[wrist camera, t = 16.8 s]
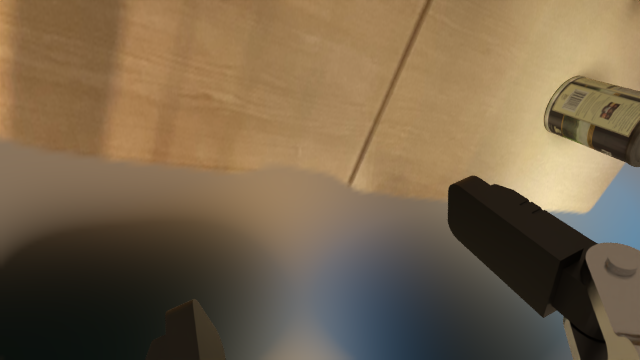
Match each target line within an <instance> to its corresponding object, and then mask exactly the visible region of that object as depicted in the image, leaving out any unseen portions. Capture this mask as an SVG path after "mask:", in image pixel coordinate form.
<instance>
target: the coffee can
mask: <svg viewBox="0 0 640 360" xmlns="http://www.w3.org/2000/svg"><path fill="white" fill-rule="evenodd" d="M544 123H545V127H546V129H547V130H548V131H549V132H551V133H555V134H557V135H560V136H562V137H565V138H567V139H570V140H572V141H575V142H577V143H580V144H582V145H585V146H587V147H589V148H592V149H594V150H597V151H599V152H602V153H604V154H606V155H609V156H611V157H614V158H616V159H619V160H621V161H624V162H626V163H628V164H629V165H631V166H634V167H640V91H636V90H632V89H628V88H624V87H620V86H616V85H612V84H608V83H604V82H600V81H596V80H592V79H588V78H585V77H582V76H577V77H574V78H571V79H569V80H568V81H566V82H565V83H564V84H563V85H562V86H561V87H560V88H559V89H558V90H557V91H556V93H555V94H554V95H553V97H552V99H551V100H550V102H549V105H548V107H547V110H546V113H545V119H544Z"/></svg>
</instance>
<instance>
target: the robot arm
mask: <svg viewBox="0 0 640 360" xmlns="http://www.w3.org/2000/svg"><path fill="white" fill-rule="evenodd" d="M448 224H449V227H450V229H451V231H452V233H453V234H454V236H455V237H456V238H457V239H458V240H459V241H460V242H461V243H462V244H463V245H464V246H465V247H466V248H467V249H469V250H470V251H471V252H472V253H473V254H474V255H475V256H477V258H478V259H479V260H481V261H482V262H483V263H484V264H485V265H486V266H487V267H488V268H489V269H490V270H491V271H493V272H494V273H495V274H496V275H497V276H498V277H499V278H500V279H501V280H503V282H505V283H506V284H507V285H508V286H509V287H510V288H511V289H512V290H513V291H514V292H515V293H517V294H518V295H519V296H520V297H521V298H522V299H523V300H524V301H525V302H526V303H528V304H529V305H530V306H531V307H532V308H533V309H534V310H535V311H536V312H537V313H538V314H539V315H541V316H542V317H543V318H544V317H546V316H547V315H549V314H551V313H553V312H555V311H556V310H557V311H559V312H560V313H561V314H562V315H563V316H564V318H563V324H564V328H565V332H566V335H567V339H568V343H569V346H570V350H571V353H572V357H573V360H640V251H639V250H636V249H635V248H632V247H630V246H626V245H623V244H618V243H600V244H598V243H596V242H594V241H592V240H590V239H589V238H587V237H586V236H584V235H583V234H581V233H580V232H578V231H577V230H575V229H573V228H572V227H570V226H569V225H567V224H566V223H564V222H562V221H561V220H559V219H558V218H556V217H555V216H553V215H552V214H550V213H548V212H547V211H545V210H542V209H541V207H539V206H538V205H536V204H534V203H533V202H529V200H528V199H527V198H525V197H524V196H522V195H520V194H519V193H517V192H516V191H514V190H512V189H509V188H506V187H503V186H500V185H496V184H493V185H489V184H488V183H486V182H485V181H483V180H482V179H480V178H479V177H477V176H470V177H467V178H465V179H463V180H461V181H458V182H456V183H454V184H452V185H450V187H449V190H448ZM165 319H166V320H165V321H166V335H164V336H161V337H159V338H157V339H155V340H153V341H152V343H151V346H150V348H149V351H148V354H147V356H146V359H145V360H226V358H225V353H224V348H223V345H222V342H221V339H220V336H219V334H218V332H217V330H216V328H215V327H214V325H213V324H212V322H211V321H210V319H209V318H208V316H207V315H206V313H205V312H204V310H203V309H202V307H201V306H200V304H199V303H198V301H197V300H196V299H193V300H191V301H189V302H186V303H184V304H182V305H180V306H177V307H175V308H173V309H171V310H169V311H167V312H166V315H165Z"/></svg>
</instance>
